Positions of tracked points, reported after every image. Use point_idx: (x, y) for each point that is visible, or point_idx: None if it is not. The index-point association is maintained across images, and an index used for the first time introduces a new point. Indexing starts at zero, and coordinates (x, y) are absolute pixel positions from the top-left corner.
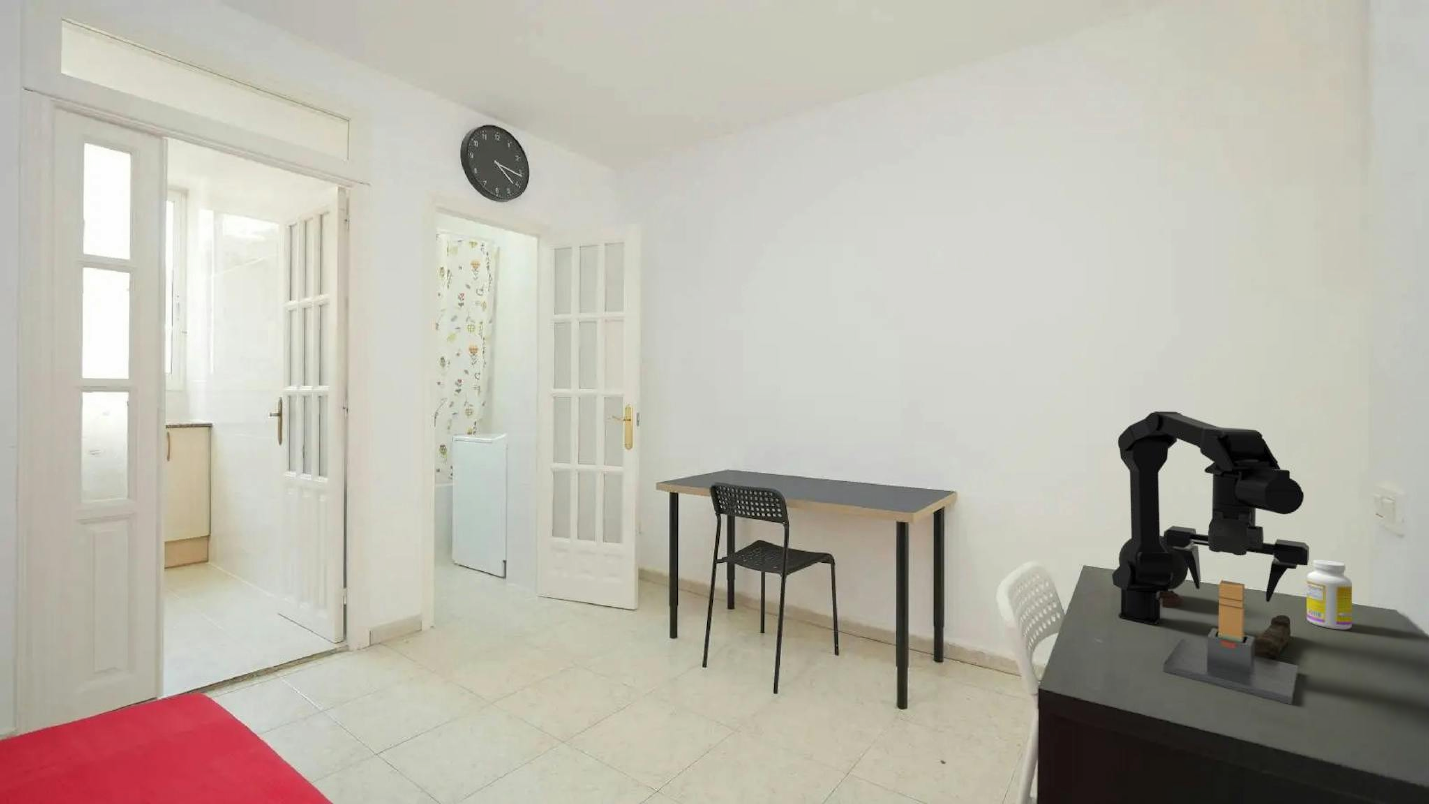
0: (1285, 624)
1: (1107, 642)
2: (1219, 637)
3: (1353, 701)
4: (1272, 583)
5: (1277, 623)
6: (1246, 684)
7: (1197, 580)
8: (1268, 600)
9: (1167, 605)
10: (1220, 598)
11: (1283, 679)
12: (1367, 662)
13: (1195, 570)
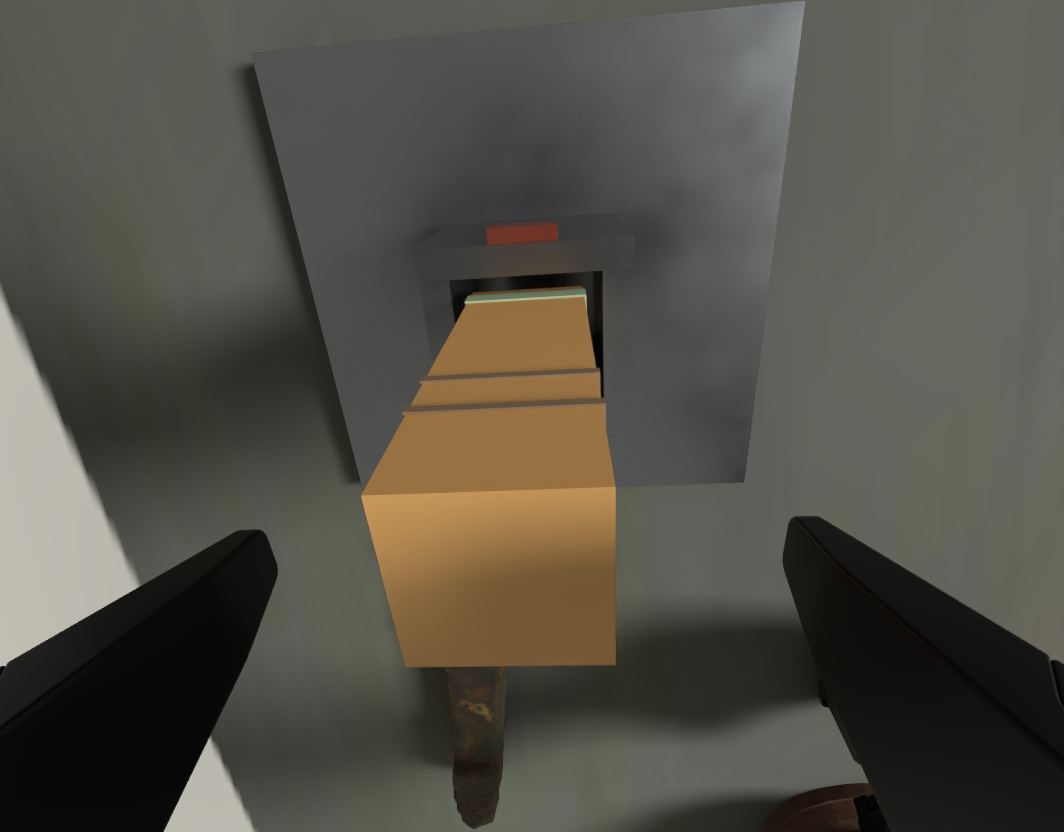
0: (457, 768)
1: (1053, 254)
2: (577, 289)
3: (173, 328)
4: (46, 668)
5: (479, 765)
6: (427, 56)
7: (854, 566)
8: (236, 531)
9: (802, 802)
10: (588, 396)
11: (347, 289)
12: (286, 697)
13: (973, 661)
